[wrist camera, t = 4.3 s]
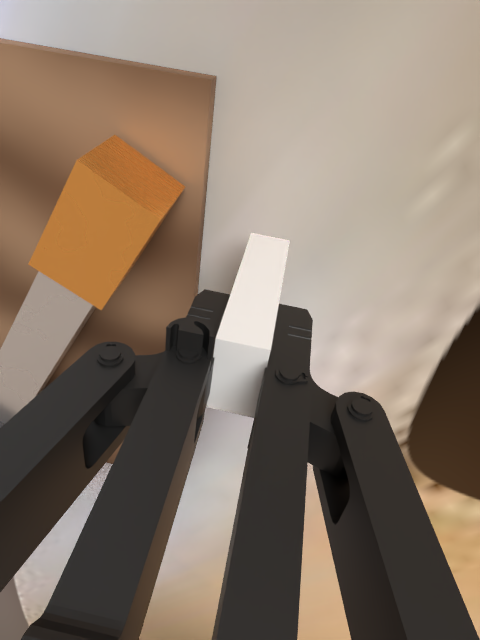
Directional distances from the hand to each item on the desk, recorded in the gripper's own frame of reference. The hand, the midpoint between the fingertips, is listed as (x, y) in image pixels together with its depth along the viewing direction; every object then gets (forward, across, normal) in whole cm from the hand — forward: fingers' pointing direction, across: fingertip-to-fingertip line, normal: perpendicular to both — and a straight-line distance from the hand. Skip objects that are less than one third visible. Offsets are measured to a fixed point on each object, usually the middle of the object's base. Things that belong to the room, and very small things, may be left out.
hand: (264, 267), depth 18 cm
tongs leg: (+1, +10, +6) cm, 12 cm away
